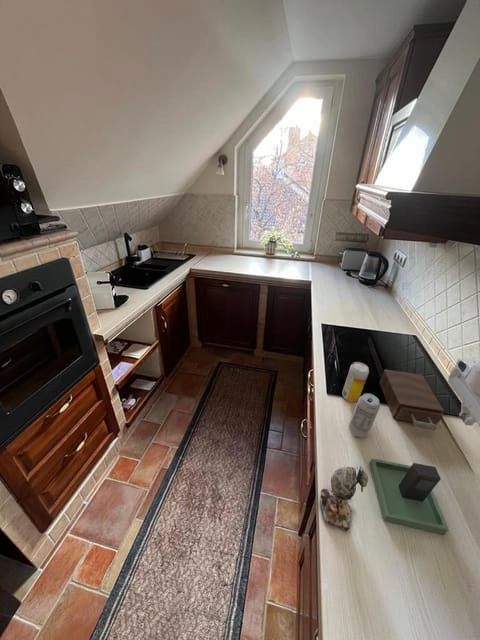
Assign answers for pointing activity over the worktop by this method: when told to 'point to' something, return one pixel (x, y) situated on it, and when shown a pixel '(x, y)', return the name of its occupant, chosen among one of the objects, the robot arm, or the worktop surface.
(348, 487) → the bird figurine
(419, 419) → the drawer
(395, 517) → the tray
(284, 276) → the worktop surface
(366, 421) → the energy drink can
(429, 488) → the dark grey block
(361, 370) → the beer can
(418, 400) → the cabinet
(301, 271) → the worktop surface
